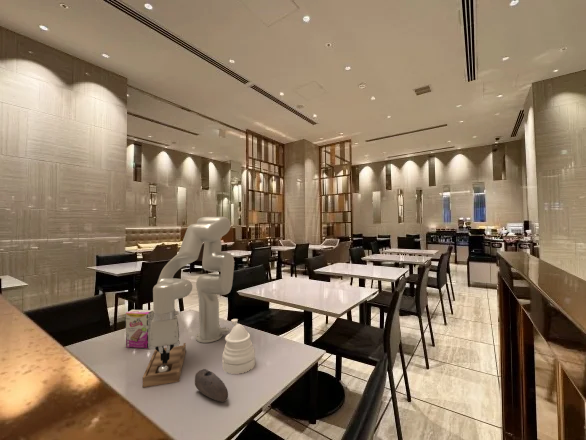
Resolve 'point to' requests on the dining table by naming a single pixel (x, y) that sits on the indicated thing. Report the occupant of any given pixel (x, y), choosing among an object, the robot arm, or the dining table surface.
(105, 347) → the dining table surface
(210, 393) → the perforated stone tool
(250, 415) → the dining table surface
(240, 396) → the dining table surface
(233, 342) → the honey pot
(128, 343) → the candy bar box
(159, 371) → the ball
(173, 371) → the track
